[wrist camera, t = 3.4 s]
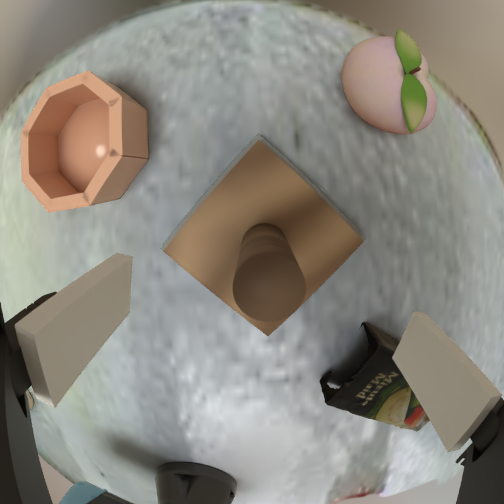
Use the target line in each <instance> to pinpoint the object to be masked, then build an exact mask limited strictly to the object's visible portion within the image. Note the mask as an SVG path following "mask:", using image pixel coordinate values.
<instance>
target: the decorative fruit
mask: <svg viewBox="0 0 504 504" xmlns="http://www.w3.org/2000/svg"><path fill="white" fill-rule="evenodd" d="M427 78H428V65H427V62H426V60H425V58H424V56H423V55H422V54H421V53H420V50H419V48H418V46H417V45H416V43H415V42H414V40H413V39H412V38H411V37H410V36H409V35H408V34H407V33H406V32H404V31H403V30H401V29H399V30H398V31H397V33H396V37H390V36H384V37H375V38H371V39H367V40H364V41H362V42H360V43H358V44H357V45H355V46H354V47H353V48H352V49H351V51H350V52H349V53H348V55H347V57H346V59H345V61H344V65H343V68H342V84H343V89H344V93H345V95H346V98H347V100H348V102H349V104H350V106H351V107H352V108H353V109H354V111H355V112H356V113H357V114H358V115H359V116H360V117H361V118H362V119H363V120H365V121H366V122H367V123H369V124H371V125H373V126H375V127H377V128H379V129H381V130H384V131H387V132H391V133H396V134H411V133H415V132H417V131H420V130H422V129H424V128H425V127H426V126H428V125H429V124H430V123H431V121H432V120H433V118H434V115H435V112H436V106H437V98H436V93H435V91H434V89H433V87H432V85H431V84H430V82H429V81H428V80H427Z"/></svg>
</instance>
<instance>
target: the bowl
mask: <svg viewBox="0 0 504 504" xmlns="http://www.w3.org/2000/svg"><path fill="white" fill-rule="evenodd" d="M147 158H149V152H148V126H147V110H146V109H145V108H144V107H143V106H141V105H140V104H139V103H137V102H136V101H135V100H134V99H132V98H131V97H130V96H129V95H127V94H126V93H125V92H123V91H122V90H121V89H119V88H118V87H117V86H115V85H113V84H112V83H110V82H108V81H106V80H104V79H103V78H101V77H99V76H97V75H95V74H93V73H92V72H90V71H86V72H83V73H80V74H78V75H75V76H73V77H70V78H68V79H65V80H63V81H61V82H58V83H56V84H54V85H51V86H49V87H47V88H46V90H45V91H44V93H43V95H42V96H41V98H40V99H39V101H38V103H37V104H36V106H35V108H34V110H33V111H32V113H31V115H30V117H29V118H28V120H27V122H26V124H25V126H24V128H23V130H22V132H21V169H22V180H23V181H22V182H23V183H24V184H25V185H26V187H27V188H28V189H29V190H30V191H31V193H32V194H33V195H34V196H35V197H36V198H37V200H38V201H39V202H40V203H41V204H42V205H43V207H44V208H45V209H46V210H47V211H48V212H55V211H60V210H66V209H72V208H78V207H84V206H90V205H95V204H99V203H103V202H108V201H112V200H117V199H120V198H121V197H122V195H123V194H124V192H125V191H126V189H127V188H128V187H129V185H130V184H131V182H132V181H133V180H134V178H135V177H136V175H137V174H138V173H139V171H140V170H141V169H142V167H143V166H144V165H145V163H146V162H147V161H148V159H147Z"/></svg>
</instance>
